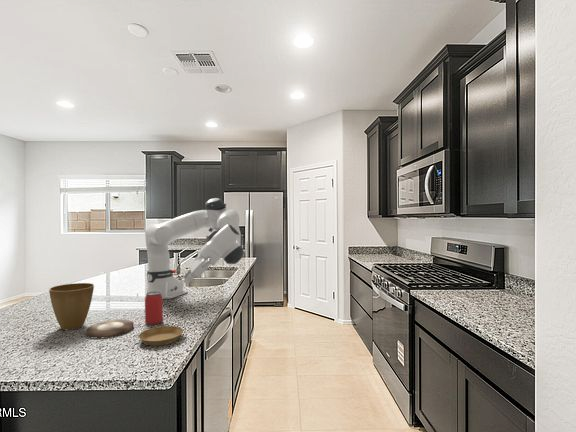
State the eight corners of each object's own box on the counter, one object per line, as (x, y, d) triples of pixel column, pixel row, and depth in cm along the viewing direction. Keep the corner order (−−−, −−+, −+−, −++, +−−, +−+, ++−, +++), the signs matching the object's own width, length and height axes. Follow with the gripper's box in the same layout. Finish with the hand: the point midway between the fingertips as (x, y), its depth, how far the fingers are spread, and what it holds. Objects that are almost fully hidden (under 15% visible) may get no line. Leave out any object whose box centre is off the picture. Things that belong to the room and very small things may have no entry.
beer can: (166, 320, 137) (165, 291, 137) (154, 326, 131) (154, 295, 131) (153, 319, 139) (152, 290, 139) (141, 324, 133) (141, 294, 133)
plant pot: (46, 336, 121) (45, 292, 121) (53, 324, 134) (52, 285, 134) (93, 329, 128) (93, 287, 128) (95, 318, 141) (95, 281, 141)
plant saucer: (169, 329, 127) (168, 323, 127) (192, 338, 118) (191, 331, 118) (130, 341, 115) (130, 334, 115) (152, 352, 106) (152, 344, 106)
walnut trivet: (117, 321, 138) (117, 317, 138) (142, 327, 130) (142, 323, 129) (77, 333, 124) (77, 328, 124) (101, 341, 116) (101, 336, 116)
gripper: (216, 264, 133) (191, 290, 130) (211, 258, 152) (189, 281, 149) (205, 253, 131) (179, 280, 128) (201, 248, 151) (179, 271, 148)
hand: (184, 280), depth 139 cm, fingers open, 8 cm apart
